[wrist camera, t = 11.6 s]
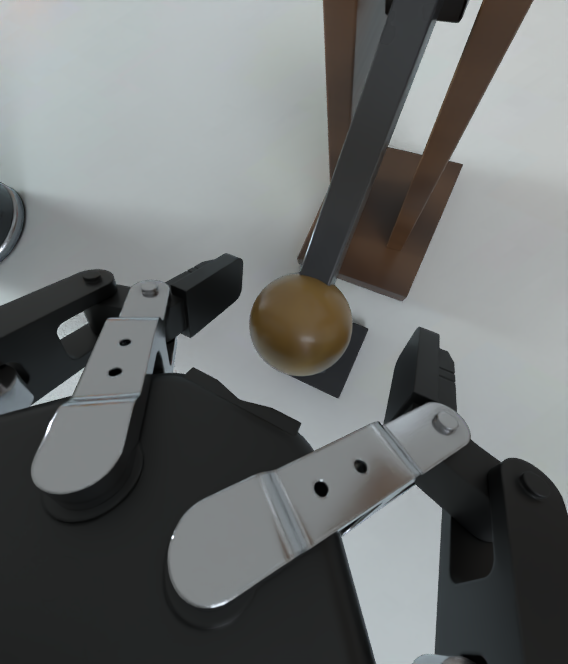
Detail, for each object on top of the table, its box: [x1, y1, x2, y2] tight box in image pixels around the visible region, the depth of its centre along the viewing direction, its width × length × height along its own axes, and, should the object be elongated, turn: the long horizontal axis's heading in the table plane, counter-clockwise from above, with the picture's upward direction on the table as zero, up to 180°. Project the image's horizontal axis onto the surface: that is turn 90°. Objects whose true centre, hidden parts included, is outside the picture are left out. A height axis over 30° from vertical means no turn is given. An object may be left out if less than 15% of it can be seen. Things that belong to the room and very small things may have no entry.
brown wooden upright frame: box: [297, 0, 533, 301], centre depth 12 cm, size 10×8×16 cm
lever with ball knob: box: [249, 0, 469, 376], centre depth 8 cm, size 14×4×4 cm, turn 155°
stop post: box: [287, 323, 368, 398], centre depth 15 cm, size 5×5×8 cm
